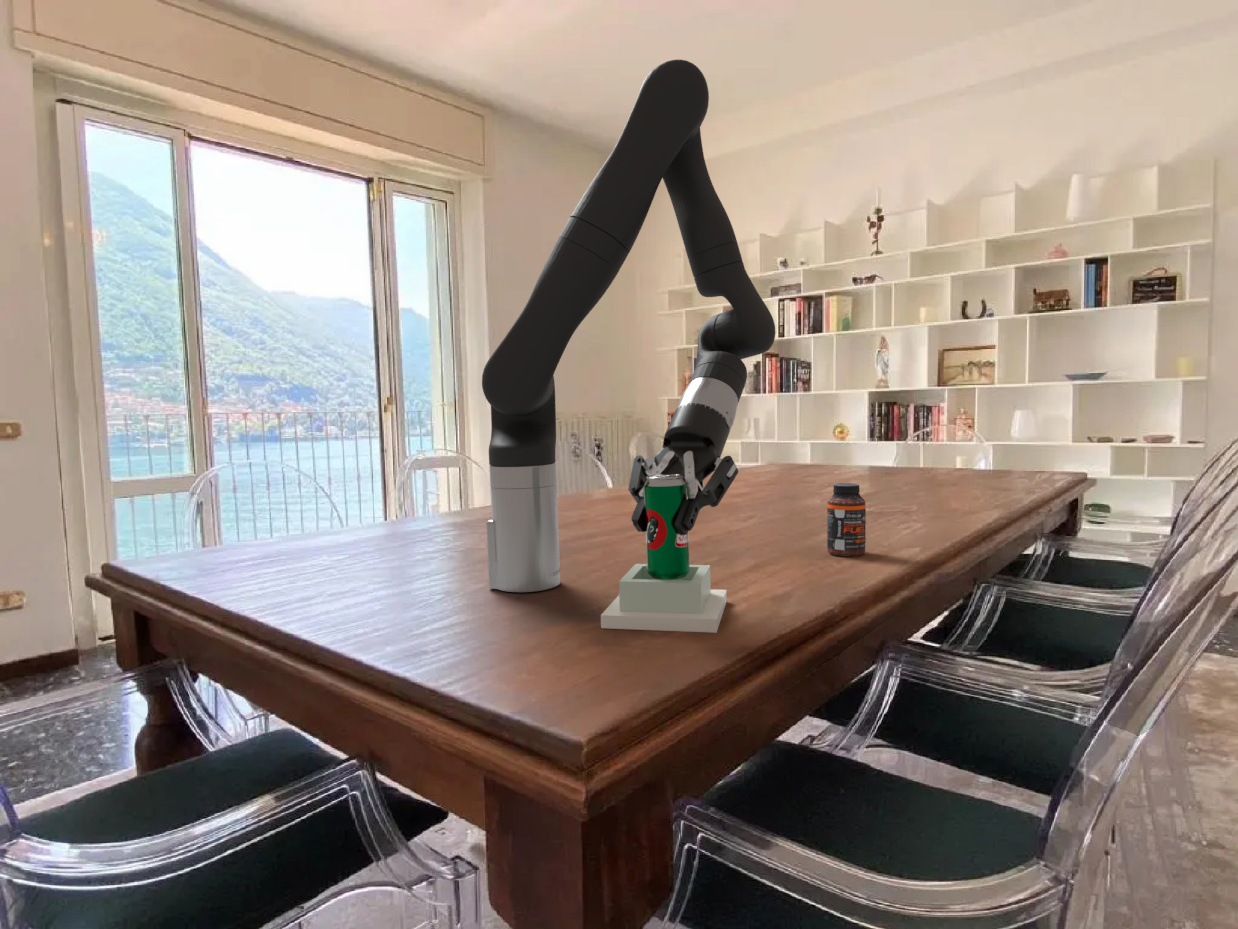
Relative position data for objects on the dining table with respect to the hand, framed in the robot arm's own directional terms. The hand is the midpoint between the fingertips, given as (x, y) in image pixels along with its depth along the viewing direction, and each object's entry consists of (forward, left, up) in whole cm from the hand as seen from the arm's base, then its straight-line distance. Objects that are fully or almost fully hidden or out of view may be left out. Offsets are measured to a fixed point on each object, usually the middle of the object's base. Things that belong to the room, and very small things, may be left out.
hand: (659, 529), depth 87 cm
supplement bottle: (+23, +40, -11) cm, 47 cm away
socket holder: (0, +2, -11) cm, 11 cm away
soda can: (+1, +2, -6) cm, 6 cm away
